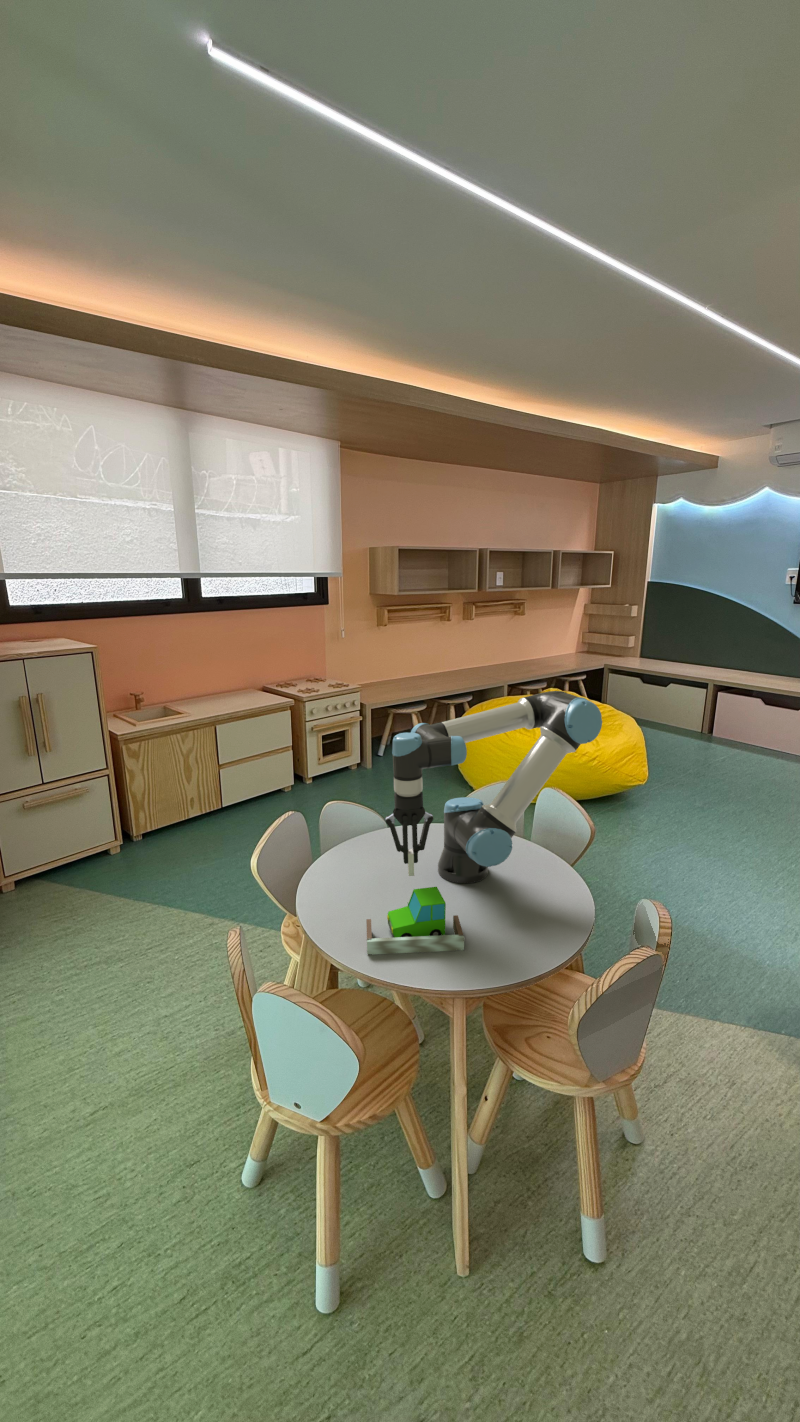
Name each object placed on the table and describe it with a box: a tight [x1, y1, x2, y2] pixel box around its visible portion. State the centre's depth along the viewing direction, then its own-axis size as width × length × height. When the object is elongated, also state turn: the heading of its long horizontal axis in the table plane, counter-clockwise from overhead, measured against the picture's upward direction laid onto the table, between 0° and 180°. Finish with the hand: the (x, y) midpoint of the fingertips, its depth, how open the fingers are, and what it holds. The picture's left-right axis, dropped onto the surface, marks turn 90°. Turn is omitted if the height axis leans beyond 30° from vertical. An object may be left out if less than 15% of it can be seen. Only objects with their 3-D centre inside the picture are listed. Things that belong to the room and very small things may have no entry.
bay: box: [366, 914, 465, 955], centre depth 151 cm, size 23×10×4 cm, turn 94°
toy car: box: [386, 886, 447, 938], centre depth 153 cm, size 10×13×10 cm
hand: (411, 873), depth 165 cm, fingers closed
